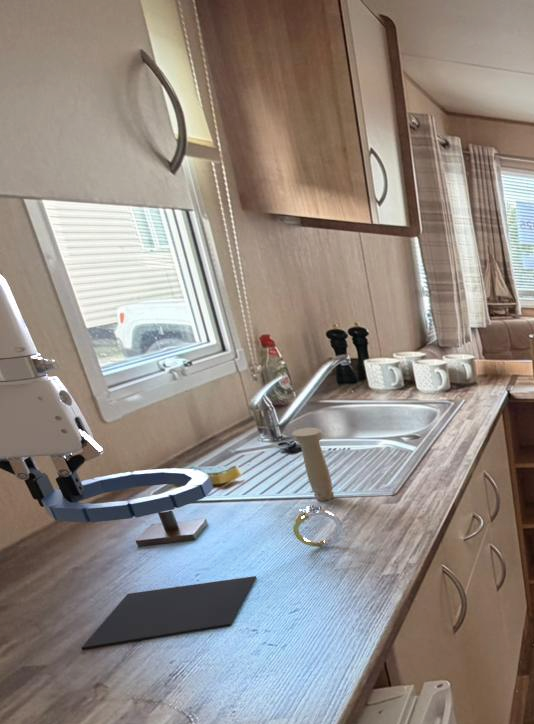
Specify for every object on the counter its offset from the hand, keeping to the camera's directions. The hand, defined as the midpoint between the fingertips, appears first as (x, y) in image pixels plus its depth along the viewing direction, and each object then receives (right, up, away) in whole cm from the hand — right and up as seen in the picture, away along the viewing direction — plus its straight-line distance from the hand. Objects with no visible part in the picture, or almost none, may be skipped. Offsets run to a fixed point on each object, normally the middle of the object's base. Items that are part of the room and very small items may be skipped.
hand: (62, 501), depth 90 cm
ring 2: (+16, -7, +28) cm, 33 cm away
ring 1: (+7, 0, +4) cm, 8 cm away
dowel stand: (-13, -5, +30) cm, 33 cm away
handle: (+1, +3, +49) cm, 49 cm away
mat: (+10, -16, +7) cm, 20 cm away
